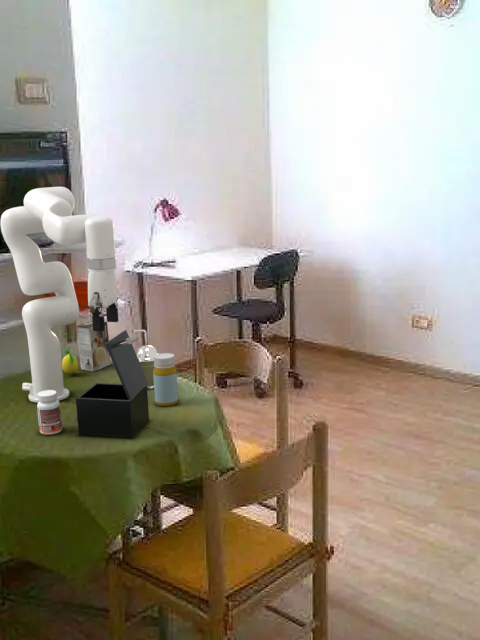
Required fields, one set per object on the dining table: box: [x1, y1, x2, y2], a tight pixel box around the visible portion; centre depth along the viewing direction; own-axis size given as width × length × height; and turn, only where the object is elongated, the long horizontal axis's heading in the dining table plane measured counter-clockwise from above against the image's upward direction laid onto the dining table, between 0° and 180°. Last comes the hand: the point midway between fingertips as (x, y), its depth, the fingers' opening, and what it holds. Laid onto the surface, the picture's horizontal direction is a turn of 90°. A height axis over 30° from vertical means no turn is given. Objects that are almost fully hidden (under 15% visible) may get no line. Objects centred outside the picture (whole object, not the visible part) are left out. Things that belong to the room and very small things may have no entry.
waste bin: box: [75, 382, 150, 440], centre depth 217 cm, size 16×14×11 cm
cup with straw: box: [131, 329, 159, 390], centre depth 250 cm, size 8×9×20 cm
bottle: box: [153, 352, 179, 407], centre depth 235 cm, size 7×7×15 cm
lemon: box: [61, 347, 79, 376], centre depth 266 cm, size 7×6×10 cm
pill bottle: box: [36, 390, 63, 436], centre depth 216 cm, size 6×6×11 cm
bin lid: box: [105, 329, 148, 400], centre depth 212 cm, size 16×14×6 cm
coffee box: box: [76, 320, 112, 373], centre depth 274 cm, size 9×6×16 cm
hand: (106, 326), depth 211 cm, fingers open, 9 cm apart
